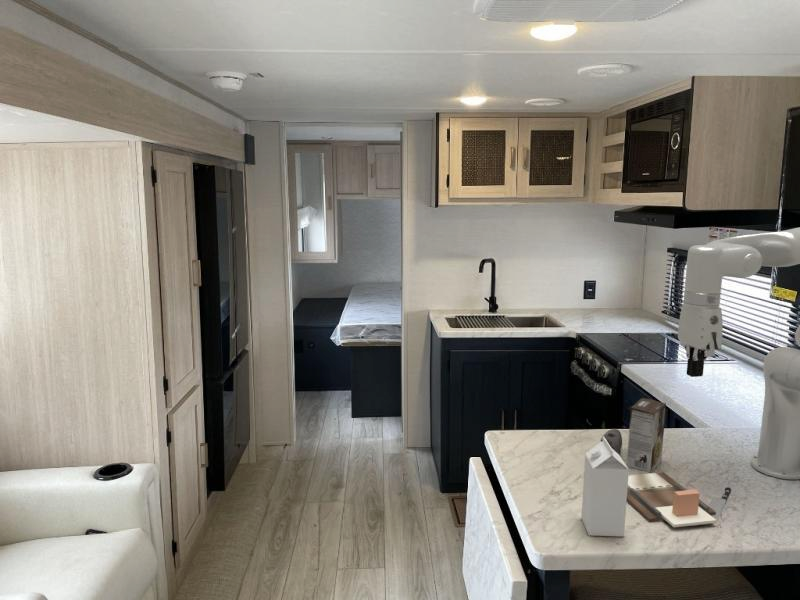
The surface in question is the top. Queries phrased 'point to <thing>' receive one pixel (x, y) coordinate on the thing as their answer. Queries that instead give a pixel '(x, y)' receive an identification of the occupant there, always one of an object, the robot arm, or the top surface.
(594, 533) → the milk carton
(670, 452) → the top surface
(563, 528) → the top surface
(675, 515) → the ticket stub
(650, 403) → the coffee box
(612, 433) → the perforated stone tool
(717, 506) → the chef's knife
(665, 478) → the ticket board
